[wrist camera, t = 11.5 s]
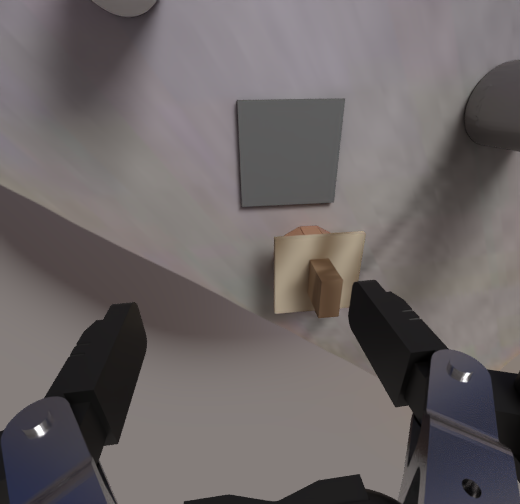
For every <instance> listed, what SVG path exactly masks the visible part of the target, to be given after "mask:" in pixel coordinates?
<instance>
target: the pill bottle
mask: <svg viewBox="0 0 520 504" xmlns="http://www.w3.org/2000/svg"><path fill="white" fill-rule="evenodd" d="M91 1H93V2H94V3H96V4H97V5H98V6H100V7H101V8H103V9H104V10H106V11H108V12H110V13H113V14H115V15H118V16H123V17H134V16H138V15H141V14H143V13H145V12H147V11H148V10H149V9H150V8H151V7H152V6H153V5H154V4H155V3H156V1H157V0H91Z"/></svg>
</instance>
